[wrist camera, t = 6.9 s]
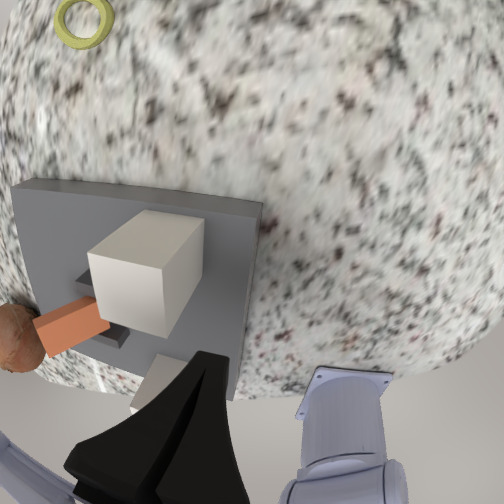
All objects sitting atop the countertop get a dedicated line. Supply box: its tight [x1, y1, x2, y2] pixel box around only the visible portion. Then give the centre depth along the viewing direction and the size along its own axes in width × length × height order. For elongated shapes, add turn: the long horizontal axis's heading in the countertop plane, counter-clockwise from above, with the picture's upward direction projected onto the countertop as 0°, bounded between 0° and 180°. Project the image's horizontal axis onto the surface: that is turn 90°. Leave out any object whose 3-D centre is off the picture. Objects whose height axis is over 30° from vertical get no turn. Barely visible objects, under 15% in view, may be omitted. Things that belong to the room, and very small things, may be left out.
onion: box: [0, 303, 46, 373], centre depth 27 cm, size 10×9×10 cm
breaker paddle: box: [32, 295, 110, 358], centre depth 18 cm, size 3×1×6 cm
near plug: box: [87, 210, 205, 339], centre depth 15 cm, size 4×4×6 cm
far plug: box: [130, 354, 189, 415], centre depth 21 cm, size 4×4×6 cm
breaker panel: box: [10, 178, 263, 401], centre depth 22 cm, size 18×22×5 cm
